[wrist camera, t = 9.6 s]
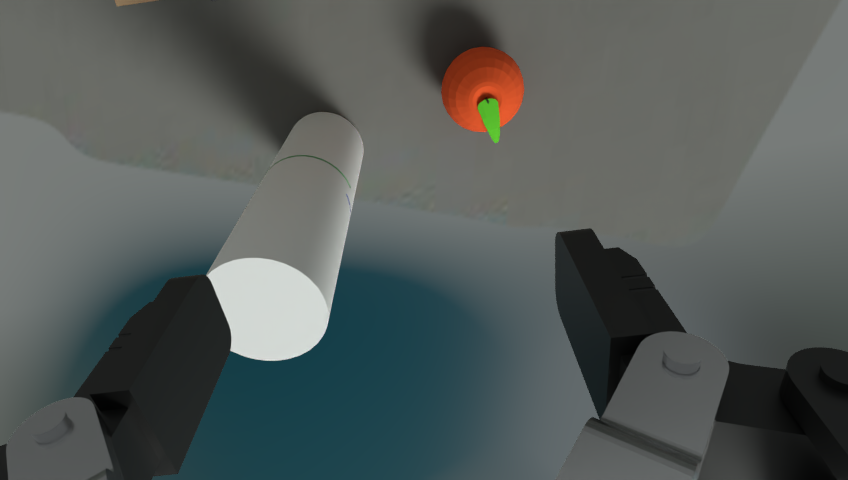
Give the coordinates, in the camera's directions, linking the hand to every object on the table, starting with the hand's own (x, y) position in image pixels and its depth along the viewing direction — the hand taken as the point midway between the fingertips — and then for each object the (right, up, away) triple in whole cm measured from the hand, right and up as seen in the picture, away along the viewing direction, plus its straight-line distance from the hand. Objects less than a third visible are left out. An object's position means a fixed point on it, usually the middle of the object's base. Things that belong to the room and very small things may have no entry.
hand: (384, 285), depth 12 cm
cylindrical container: (-8, +10, +38) cm, 41 cm away
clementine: (+6, +15, +36) cm, 39 cm away
